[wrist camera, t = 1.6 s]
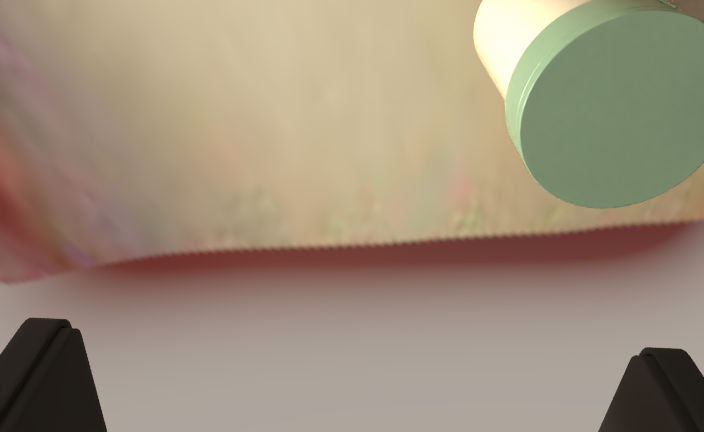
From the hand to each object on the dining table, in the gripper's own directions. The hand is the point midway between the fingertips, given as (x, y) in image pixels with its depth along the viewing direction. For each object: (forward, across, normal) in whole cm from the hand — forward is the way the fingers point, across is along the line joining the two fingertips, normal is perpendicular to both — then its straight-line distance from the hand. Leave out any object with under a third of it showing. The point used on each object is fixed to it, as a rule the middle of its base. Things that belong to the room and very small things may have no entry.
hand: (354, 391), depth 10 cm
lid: (+13, -10, -1) cm, 16 cm away
